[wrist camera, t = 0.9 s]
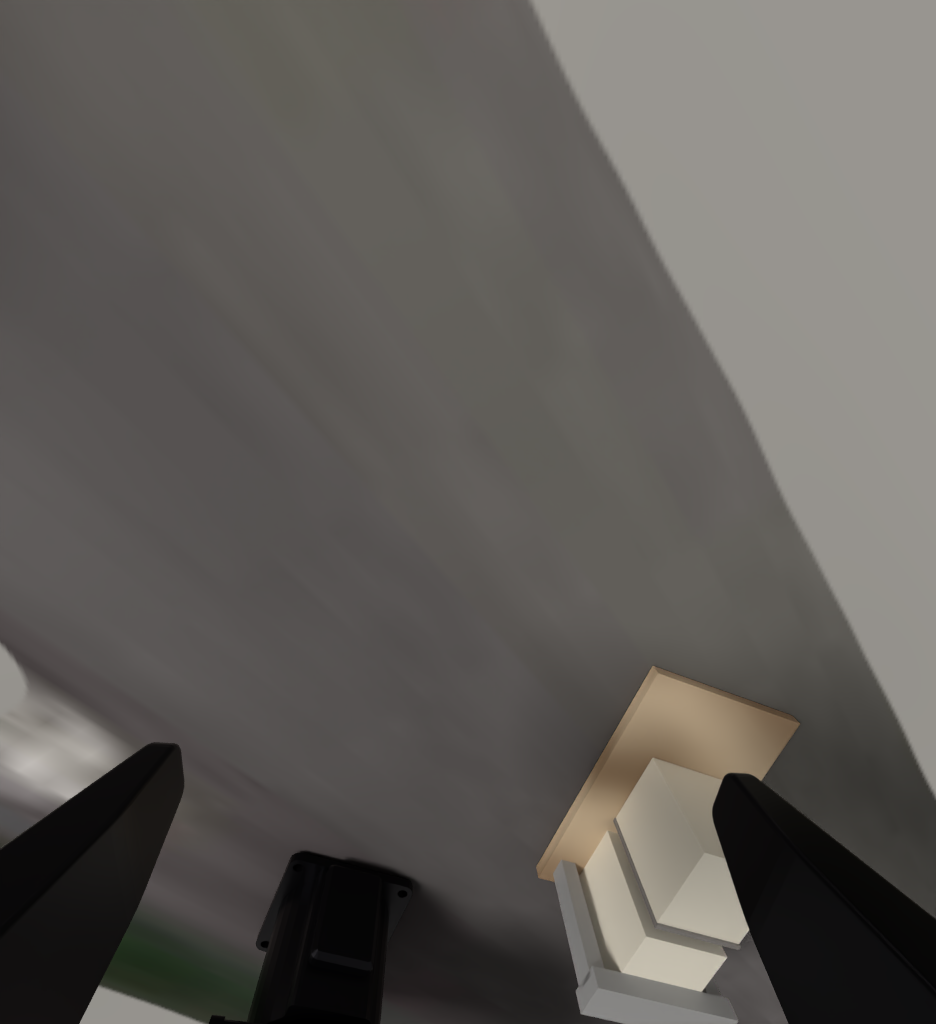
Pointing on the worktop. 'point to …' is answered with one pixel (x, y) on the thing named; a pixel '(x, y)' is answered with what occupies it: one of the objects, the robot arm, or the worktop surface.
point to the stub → (680, 855)
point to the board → (667, 754)
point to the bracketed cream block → (633, 949)
